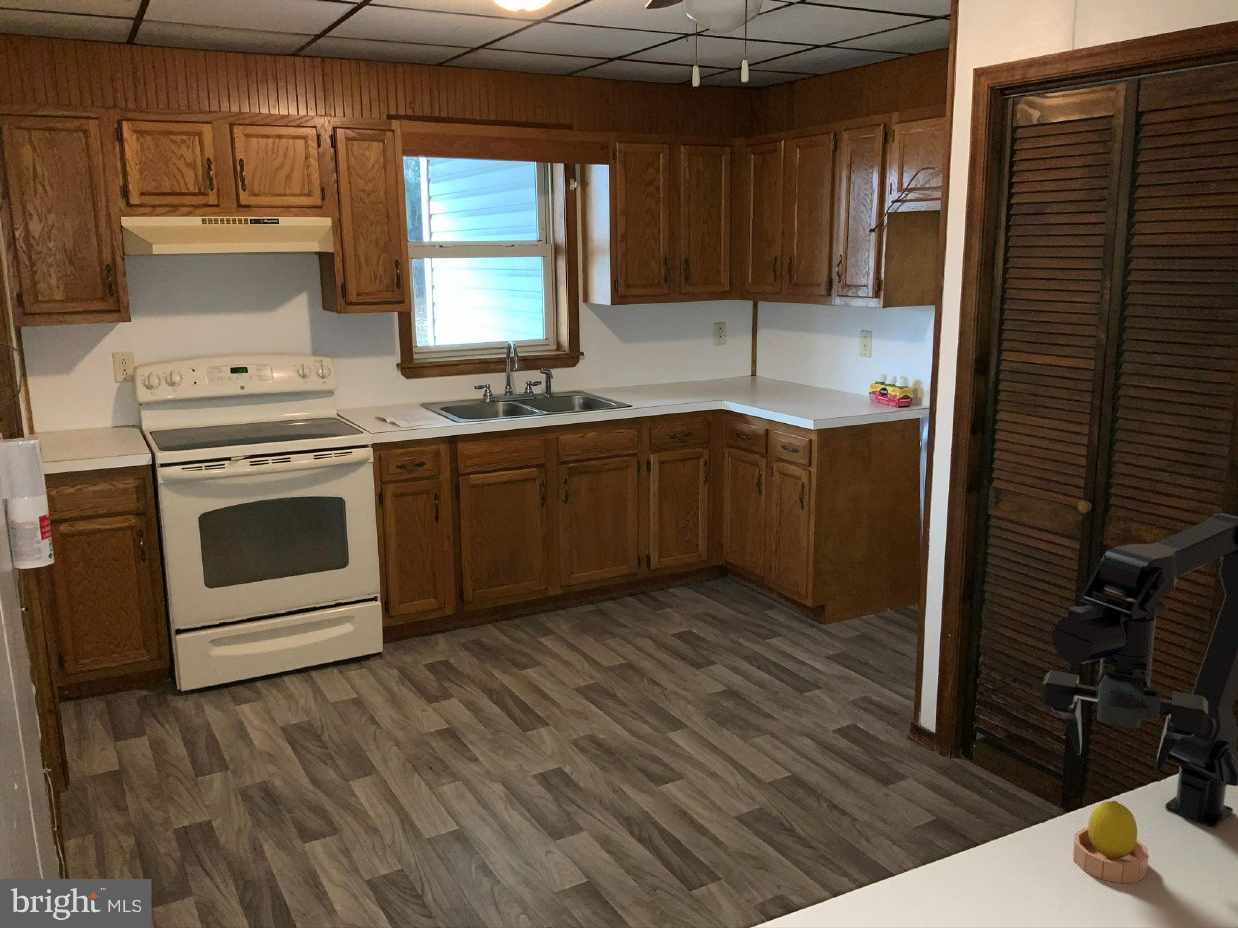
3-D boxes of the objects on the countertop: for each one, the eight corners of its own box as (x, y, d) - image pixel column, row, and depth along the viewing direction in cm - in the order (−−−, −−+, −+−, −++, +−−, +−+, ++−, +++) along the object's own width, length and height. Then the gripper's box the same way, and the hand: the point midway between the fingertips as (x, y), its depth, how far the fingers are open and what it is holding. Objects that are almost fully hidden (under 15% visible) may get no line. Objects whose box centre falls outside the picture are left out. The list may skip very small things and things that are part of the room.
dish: (1092, 837, 133) (1094, 819, 132) (1157, 865, 127) (1159, 847, 126) (1060, 859, 128) (1062, 842, 127) (1126, 890, 122) (1128, 872, 121)
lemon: (1140, 874, 124) (1145, 815, 122) (1092, 869, 125) (1096, 810, 124) (1127, 848, 129) (1132, 792, 128) (1081, 844, 130) (1085, 788, 129)
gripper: (1038, 657, 124) (1030, 772, 127) (1212, 686, 115) (1200, 809, 118) (1050, 628, 134) (1043, 736, 137) (1212, 652, 124) (1200, 768, 128)
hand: (1117, 761), depth 130 cm, fingers open, 9 cm apart
